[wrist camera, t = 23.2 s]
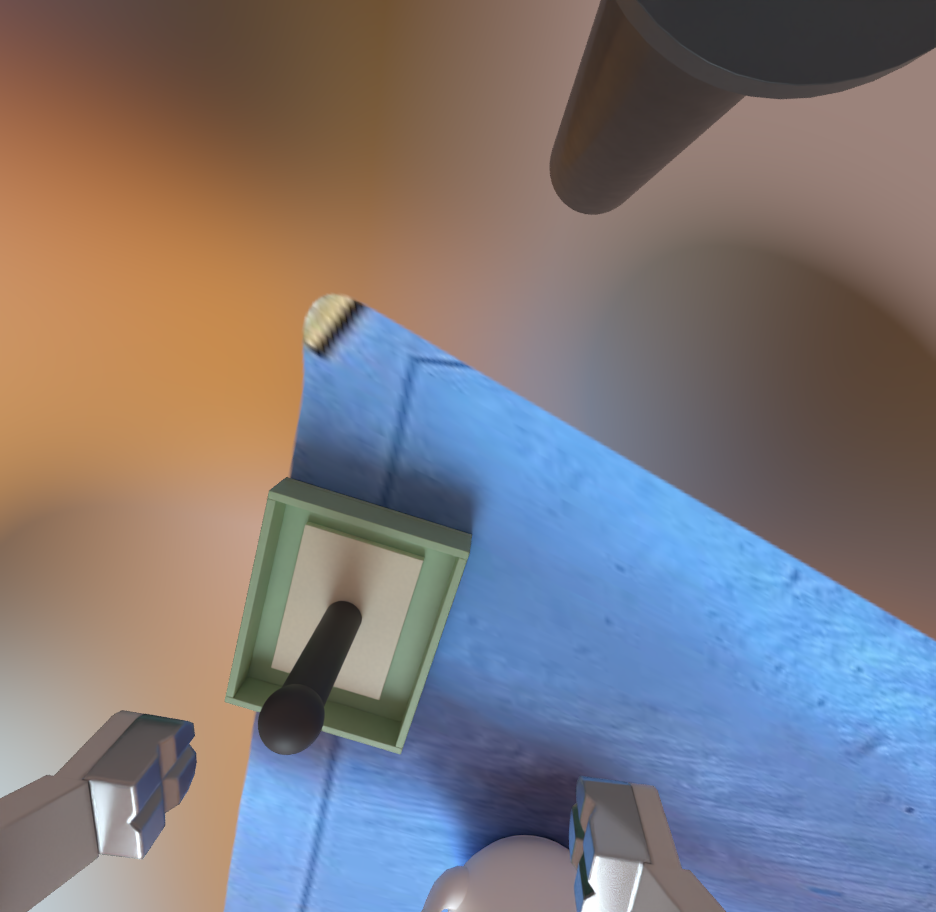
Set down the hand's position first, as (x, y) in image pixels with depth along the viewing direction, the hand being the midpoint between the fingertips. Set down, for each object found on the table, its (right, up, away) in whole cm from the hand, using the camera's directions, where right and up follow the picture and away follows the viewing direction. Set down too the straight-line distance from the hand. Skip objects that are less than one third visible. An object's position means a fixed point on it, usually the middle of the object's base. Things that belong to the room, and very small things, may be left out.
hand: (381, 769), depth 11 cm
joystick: (-8, -6, +29) cm, 31 cm away
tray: (-7, -5, +30) cm, 31 cm away
